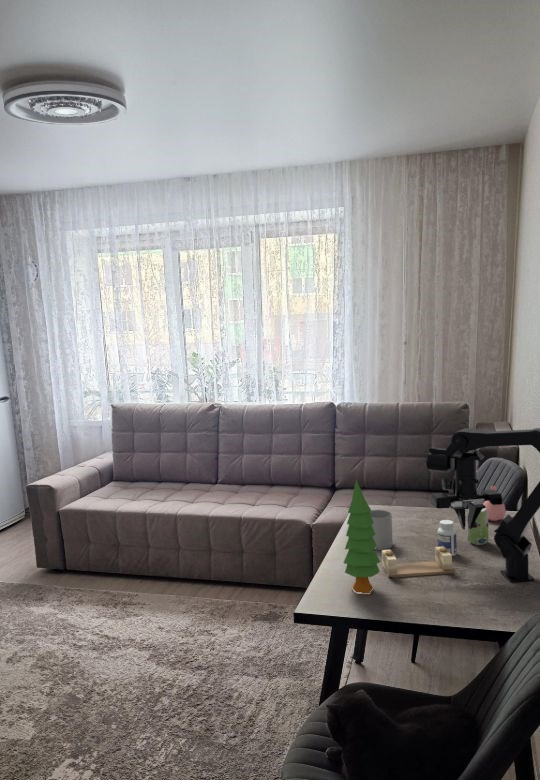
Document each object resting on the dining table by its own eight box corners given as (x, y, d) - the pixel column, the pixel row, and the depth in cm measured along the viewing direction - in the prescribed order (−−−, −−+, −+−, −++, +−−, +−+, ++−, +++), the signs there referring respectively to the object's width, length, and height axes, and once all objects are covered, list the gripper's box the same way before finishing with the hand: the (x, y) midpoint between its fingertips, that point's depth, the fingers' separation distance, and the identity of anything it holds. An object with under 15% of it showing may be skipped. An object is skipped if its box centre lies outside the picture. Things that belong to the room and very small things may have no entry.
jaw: (452, 569, 156) (451, 552, 156) (443, 569, 156) (443, 553, 156) (443, 559, 163) (443, 544, 163) (435, 560, 163) (435, 544, 162)
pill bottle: (448, 548, 174) (448, 518, 173) (460, 554, 169) (459, 523, 168) (434, 552, 172) (433, 520, 171) (445, 558, 167) (444, 526, 166)
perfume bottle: (507, 524, 193) (507, 489, 192) (483, 523, 195) (483, 489, 193) (503, 517, 200) (503, 483, 199) (480, 516, 202) (480, 483, 201)
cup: (390, 550, 175) (389, 518, 174) (364, 548, 178) (362, 517, 177) (394, 540, 183) (393, 510, 182) (368, 539, 186) (367, 509, 185)
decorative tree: (345, 597, 145) (340, 482, 143) (342, 581, 155) (338, 473, 152) (383, 596, 145) (379, 481, 142) (378, 580, 154) (374, 472, 151)
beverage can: (485, 539, 180) (484, 502, 179) (492, 547, 173) (491, 509, 172) (465, 539, 181) (464, 502, 180) (470, 548, 174) (469, 509, 172)
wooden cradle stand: (453, 573, 156) (452, 552, 156) (388, 577, 155) (387, 557, 155) (444, 563, 163) (443, 543, 163) (382, 567, 162) (381, 547, 162)
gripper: (486, 465, 166) (487, 517, 167) (423, 469, 165) (424, 521, 167) (503, 474, 155) (504, 530, 156) (436, 479, 154) (437, 534, 156)
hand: (466, 528), depth 159 cm, fingers closed
